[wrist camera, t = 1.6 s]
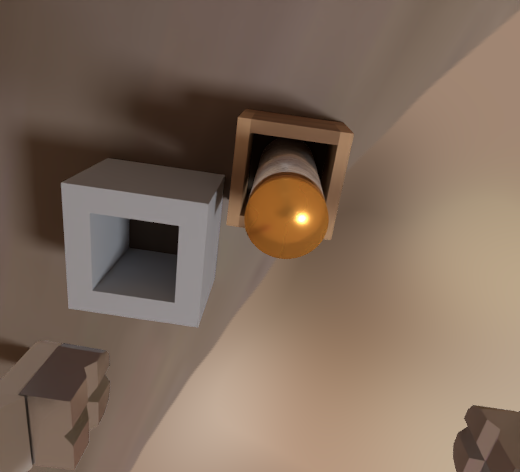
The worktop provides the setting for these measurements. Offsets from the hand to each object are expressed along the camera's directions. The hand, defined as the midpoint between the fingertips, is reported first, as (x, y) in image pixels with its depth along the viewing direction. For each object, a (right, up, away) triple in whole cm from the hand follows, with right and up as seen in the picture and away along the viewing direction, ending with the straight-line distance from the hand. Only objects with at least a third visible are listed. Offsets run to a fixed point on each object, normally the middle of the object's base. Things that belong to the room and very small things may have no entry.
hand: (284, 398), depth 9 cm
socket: (-8, +5, +24) cm, 26 cm away
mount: (+1, +9, +21) cm, 23 cm away
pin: (+1, +9, +21) cm, 23 cm away
